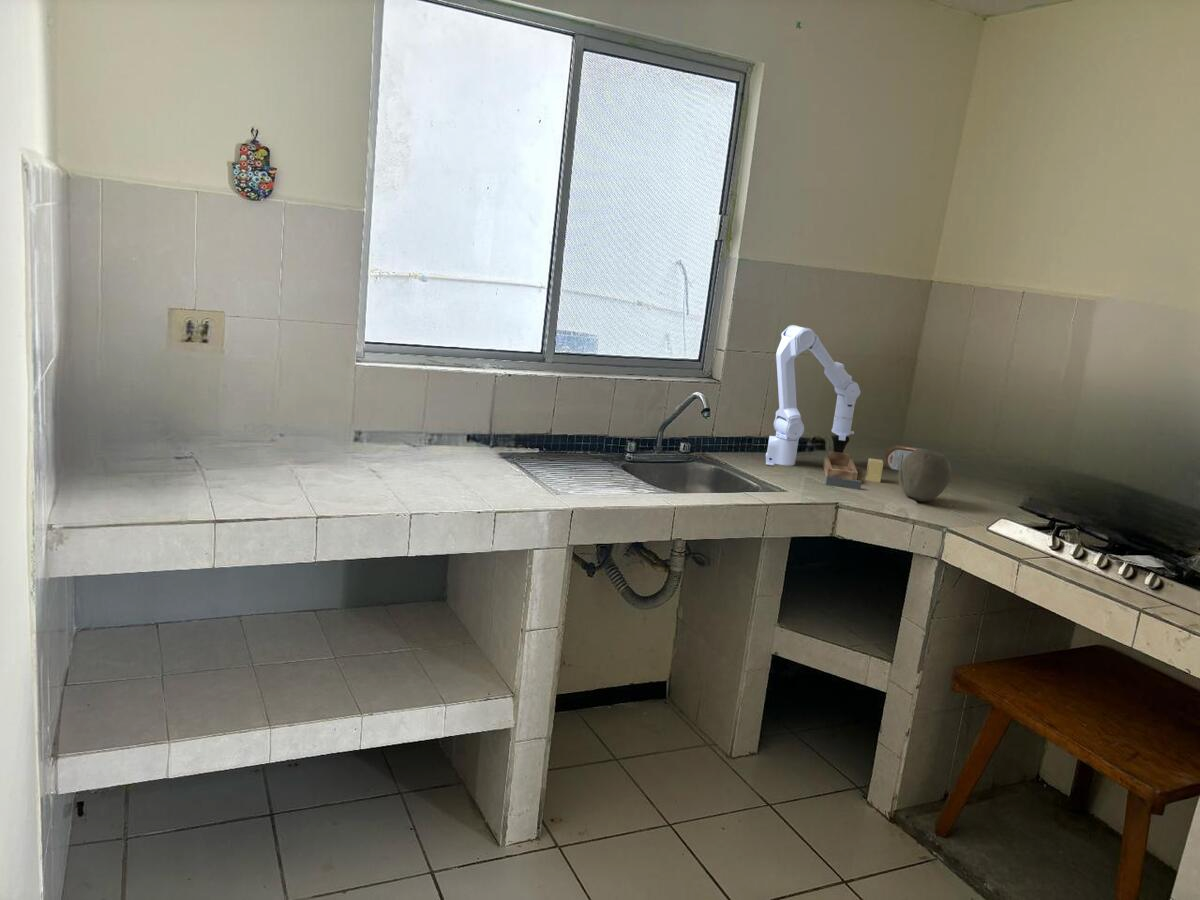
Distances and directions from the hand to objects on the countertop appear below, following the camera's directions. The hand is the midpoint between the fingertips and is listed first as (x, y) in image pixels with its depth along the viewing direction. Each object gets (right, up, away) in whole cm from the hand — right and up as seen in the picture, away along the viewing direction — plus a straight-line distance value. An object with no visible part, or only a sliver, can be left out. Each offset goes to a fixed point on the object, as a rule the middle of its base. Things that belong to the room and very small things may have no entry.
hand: (837, 458), depth 304 cm
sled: (-3, -5, -14) cm, 15 cm away
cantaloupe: (+16, -12, -33) cm, 38 cm away
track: (-4, -6, -17) cm, 18 cm away
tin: (+23, -5, +2) cm, 24 cm away
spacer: (+7, -7, -17) cm, 19 cm away
